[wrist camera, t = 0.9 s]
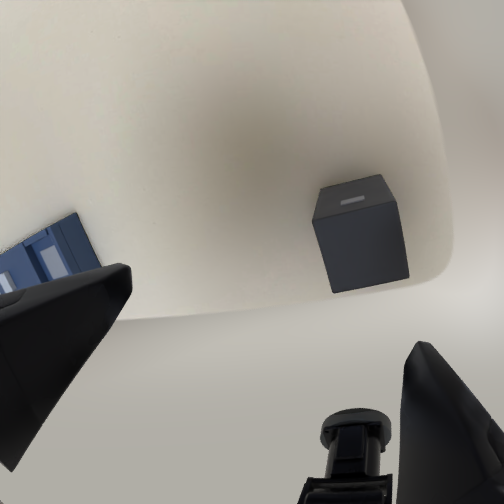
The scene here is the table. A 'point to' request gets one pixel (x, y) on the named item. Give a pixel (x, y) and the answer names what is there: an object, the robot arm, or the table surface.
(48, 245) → the blue long open box
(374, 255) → the block
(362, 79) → the table surface
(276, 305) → the table surface
